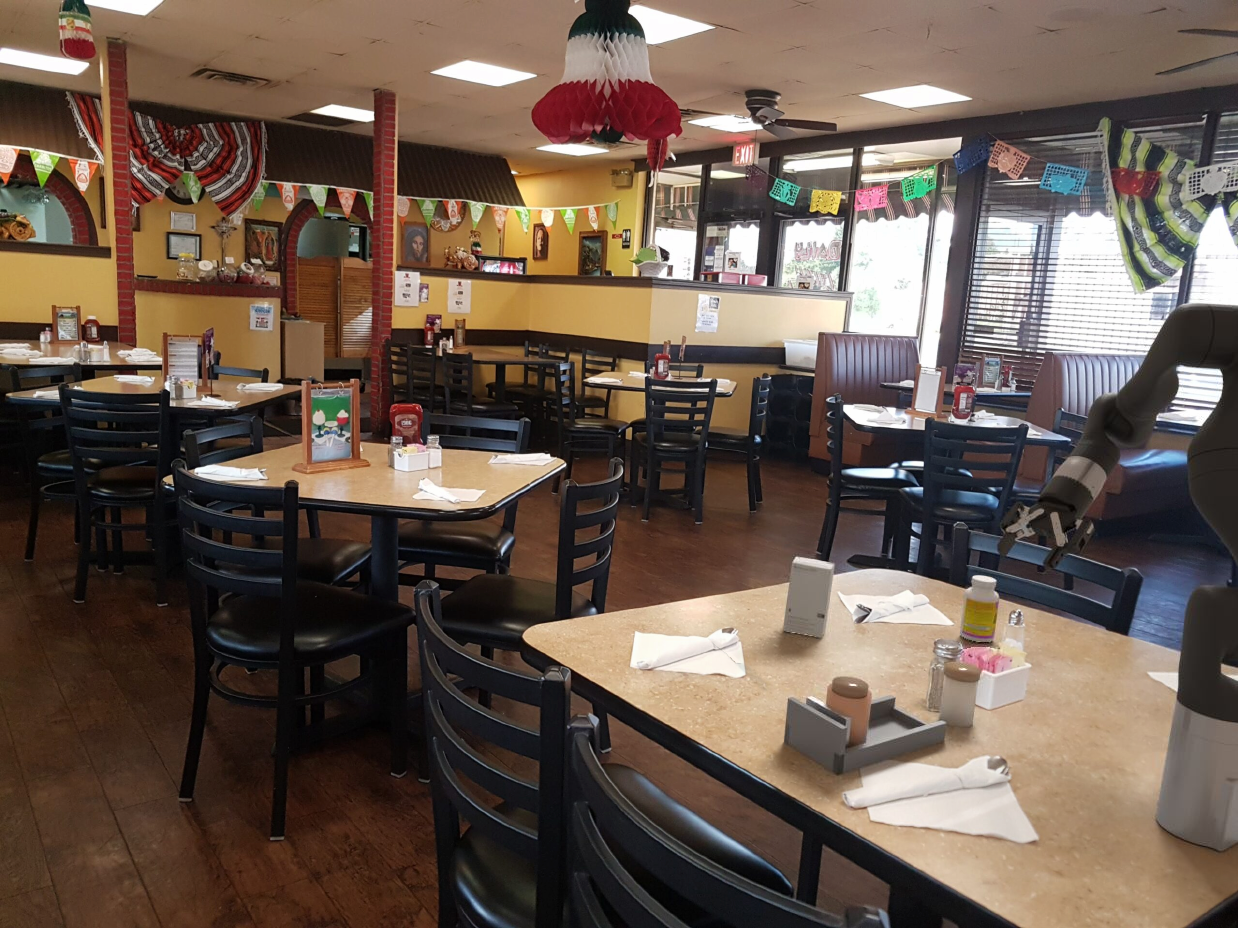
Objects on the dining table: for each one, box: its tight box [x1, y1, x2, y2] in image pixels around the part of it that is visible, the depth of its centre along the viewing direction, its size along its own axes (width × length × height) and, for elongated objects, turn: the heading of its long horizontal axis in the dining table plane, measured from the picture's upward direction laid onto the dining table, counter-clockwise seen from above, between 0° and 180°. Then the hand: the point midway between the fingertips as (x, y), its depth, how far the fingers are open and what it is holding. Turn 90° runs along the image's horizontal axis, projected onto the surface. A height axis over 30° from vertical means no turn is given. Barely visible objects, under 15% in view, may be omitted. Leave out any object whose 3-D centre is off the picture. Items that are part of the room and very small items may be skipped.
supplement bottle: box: [959, 574, 1000, 643], centre depth 190 cm, size 7×7×13 cm
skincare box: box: [782, 556, 836, 639], centre depth 188 cm, size 8×6×15 cm
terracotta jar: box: [825, 675, 873, 748], centre depth 137 cm, size 6×6×10 cm
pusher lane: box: [783, 694, 948, 776], centre depth 140 cm, size 11×23×8 cm, turn 123°
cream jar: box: [938, 661, 982, 728], centre depth 151 cm, size 6×6×9 cm
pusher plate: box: [805, 695, 851, 749], centre depth 135 cm, size 8×2×7 cm, turn 33°
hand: (1023, 560), depth 154 cm, fingers open, 8 cm apart
